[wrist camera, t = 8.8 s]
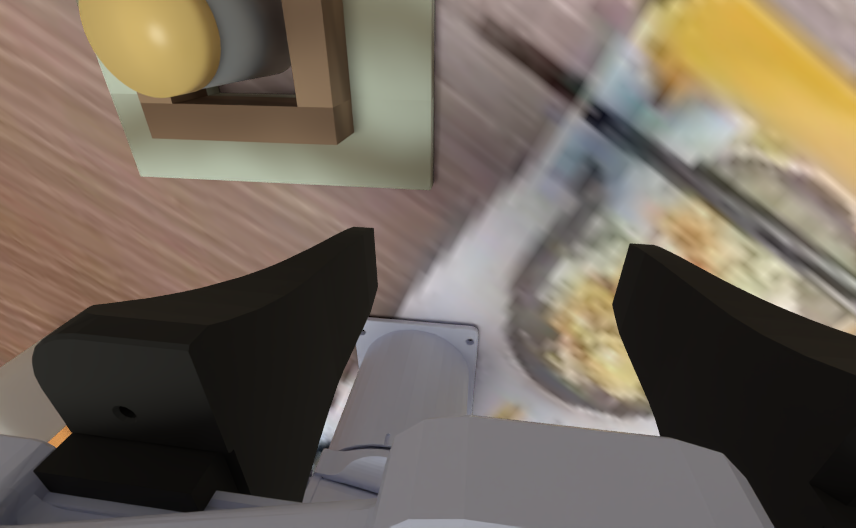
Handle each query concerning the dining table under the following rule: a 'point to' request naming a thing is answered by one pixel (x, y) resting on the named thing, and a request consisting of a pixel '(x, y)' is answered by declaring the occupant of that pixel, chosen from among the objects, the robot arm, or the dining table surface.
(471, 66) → the dining table surface
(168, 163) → the holder
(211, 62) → the yellow capped shaker
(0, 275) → the dining table surface
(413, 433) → the robot arm
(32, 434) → the eye dropper bottle
